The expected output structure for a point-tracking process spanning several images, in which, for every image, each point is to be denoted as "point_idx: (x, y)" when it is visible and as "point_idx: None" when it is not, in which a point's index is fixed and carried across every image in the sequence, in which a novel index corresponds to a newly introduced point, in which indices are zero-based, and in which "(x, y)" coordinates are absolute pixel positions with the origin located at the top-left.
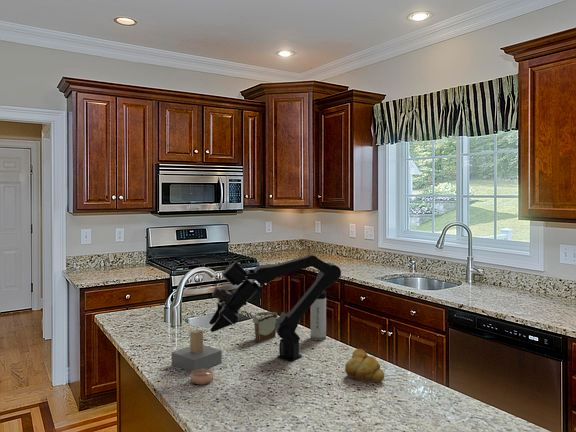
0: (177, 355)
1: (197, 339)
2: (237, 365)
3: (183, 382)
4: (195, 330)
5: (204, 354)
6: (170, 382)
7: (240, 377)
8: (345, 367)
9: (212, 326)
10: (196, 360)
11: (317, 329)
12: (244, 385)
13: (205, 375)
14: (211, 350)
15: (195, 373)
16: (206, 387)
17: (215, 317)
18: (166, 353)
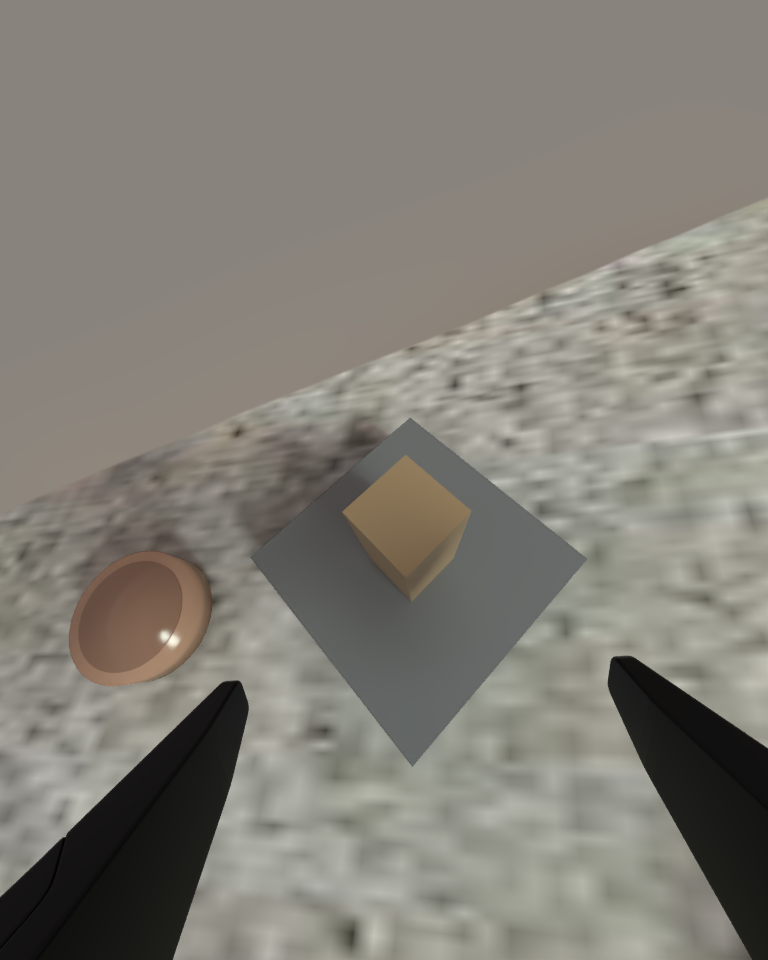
0: (373, 454)
1: (363, 542)
2: (352, 879)
3: (189, 529)
4: (436, 498)
5: (339, 617)
6: (208, 476)
7: None
8: None
9: (195, 730)
10: (261, 569)
11: None
12: None
13: (80, 636)
14: (419, 670)
15: (132, 577)
16: None
17: (725, 816)
18: (576, 408)
